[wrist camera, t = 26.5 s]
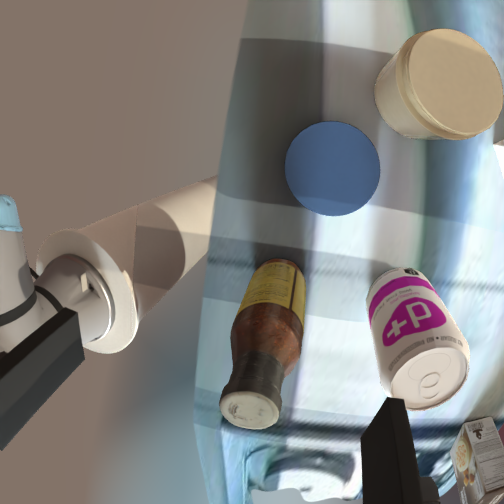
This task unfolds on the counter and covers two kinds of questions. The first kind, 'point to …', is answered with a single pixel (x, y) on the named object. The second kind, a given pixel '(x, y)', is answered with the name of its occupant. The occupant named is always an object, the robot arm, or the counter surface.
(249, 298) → the sauce bottle
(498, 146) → the milk
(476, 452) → the coffee box
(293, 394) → the counter surface
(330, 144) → the lid
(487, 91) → the jar
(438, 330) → the supplement can
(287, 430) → the counter surface
